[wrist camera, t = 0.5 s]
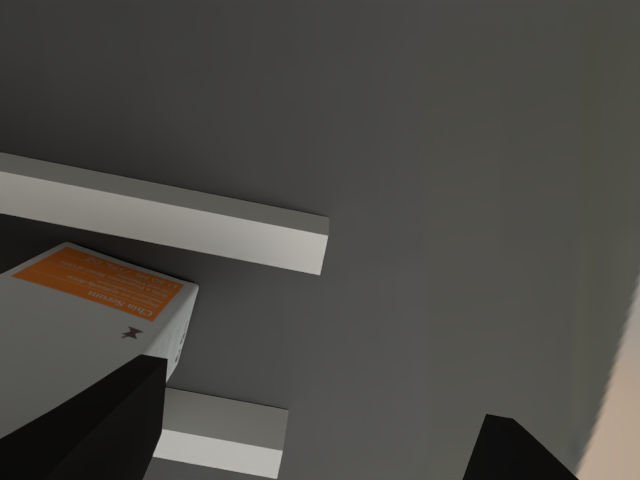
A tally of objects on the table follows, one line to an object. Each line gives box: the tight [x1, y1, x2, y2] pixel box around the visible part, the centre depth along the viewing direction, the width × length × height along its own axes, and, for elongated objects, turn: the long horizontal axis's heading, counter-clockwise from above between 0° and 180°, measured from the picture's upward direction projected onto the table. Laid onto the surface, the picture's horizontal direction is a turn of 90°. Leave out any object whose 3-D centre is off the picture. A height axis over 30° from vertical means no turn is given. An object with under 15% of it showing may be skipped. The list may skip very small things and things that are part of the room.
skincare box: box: [0, 242, 199, 439], centre depth 13 cm, size 6×4×12 cm
